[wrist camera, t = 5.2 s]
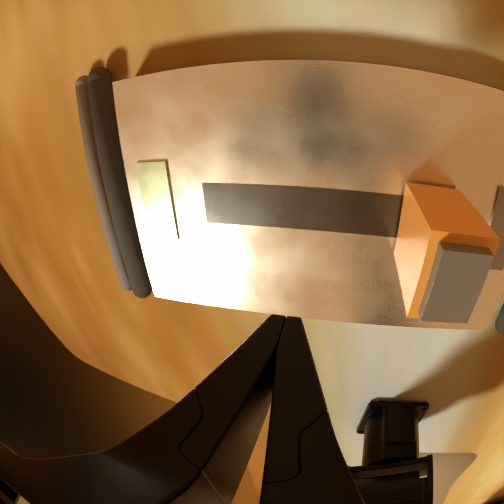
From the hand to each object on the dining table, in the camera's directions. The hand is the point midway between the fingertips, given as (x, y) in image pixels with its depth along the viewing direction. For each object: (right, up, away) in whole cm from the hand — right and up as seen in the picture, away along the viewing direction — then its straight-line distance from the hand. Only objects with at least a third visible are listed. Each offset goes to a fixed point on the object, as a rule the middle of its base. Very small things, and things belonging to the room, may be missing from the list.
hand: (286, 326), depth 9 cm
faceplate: (+4, +5, +9) cm, 11 cm away
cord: (-10, +6, +12) cm, 17 cm away
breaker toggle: (+8, +4, +5) cm, 10 cm away
